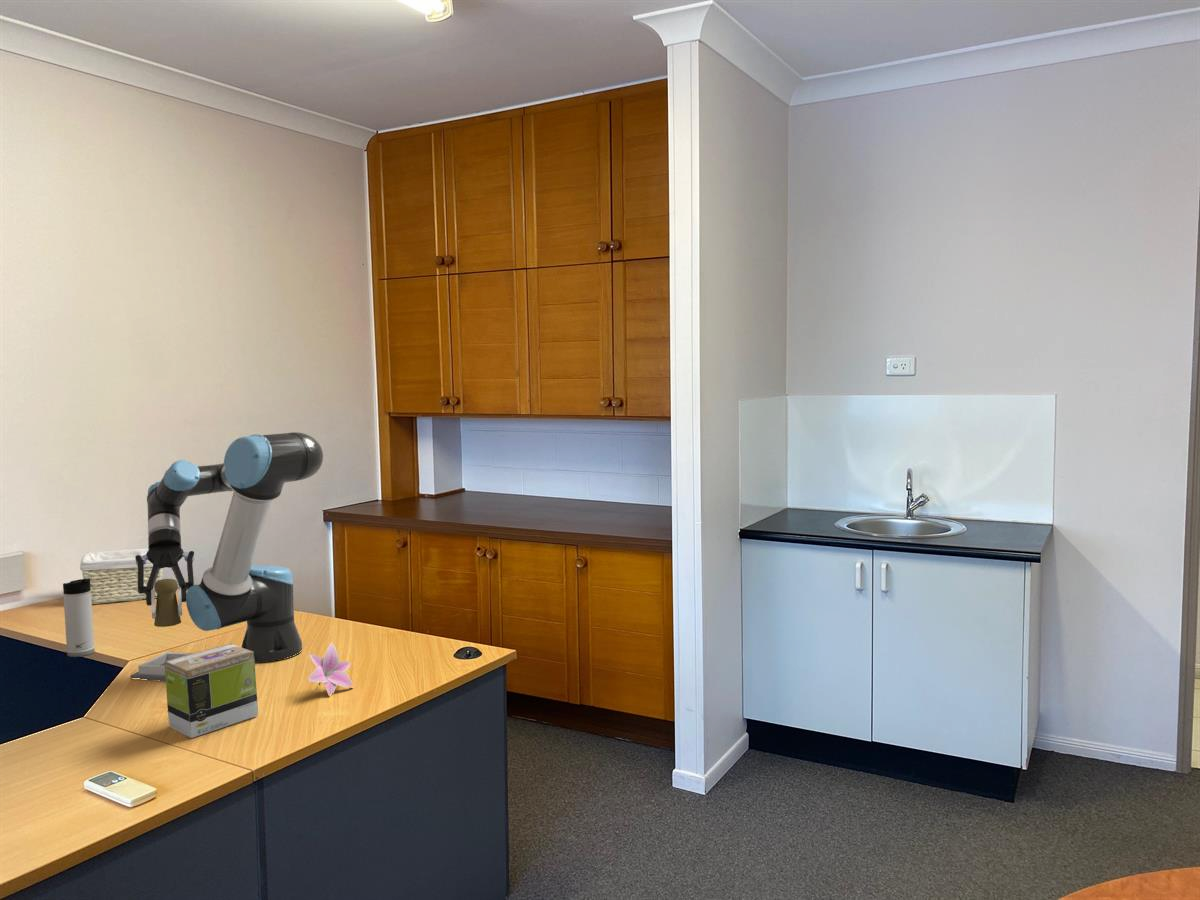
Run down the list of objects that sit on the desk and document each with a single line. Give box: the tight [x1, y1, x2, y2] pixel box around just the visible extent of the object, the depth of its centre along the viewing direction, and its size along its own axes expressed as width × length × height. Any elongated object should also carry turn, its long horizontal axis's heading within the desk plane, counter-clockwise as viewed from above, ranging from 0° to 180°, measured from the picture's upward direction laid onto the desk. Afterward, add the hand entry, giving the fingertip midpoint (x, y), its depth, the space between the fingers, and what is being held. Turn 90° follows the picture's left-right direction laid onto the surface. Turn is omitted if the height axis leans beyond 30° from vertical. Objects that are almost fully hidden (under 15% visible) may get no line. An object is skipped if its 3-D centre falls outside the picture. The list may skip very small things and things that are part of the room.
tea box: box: [165, 642, 259, 739], centre depth 188 cm, size 15×10×15 cm, turn 141°
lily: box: [307, 642, 354, 696], centre depth 207 cm, size 12×12×10 cm
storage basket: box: [79, 547, 164, 605], centre depth 291 cm, size 24×16×15 cm
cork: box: [153, 578, 182, 628], centre depth 218 cm, size 6×6×11 cm
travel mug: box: [62, 578, 96, 658], centre depth 233 cm, size 6×7×20 cm
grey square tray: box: [130, 651, 193, 682], centre depth 220 cm, size 13×13×3 cm
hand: (167, 614), depth 215 cm, fingers closed on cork, 5 cm apart
